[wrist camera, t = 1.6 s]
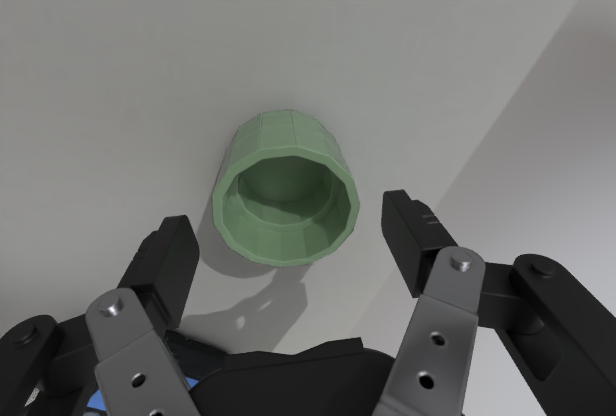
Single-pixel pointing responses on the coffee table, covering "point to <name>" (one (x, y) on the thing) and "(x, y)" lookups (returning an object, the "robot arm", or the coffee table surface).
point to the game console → (188, 356)
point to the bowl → (284, 191)
